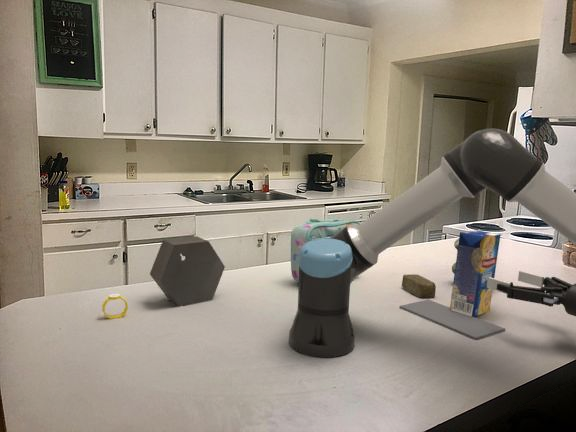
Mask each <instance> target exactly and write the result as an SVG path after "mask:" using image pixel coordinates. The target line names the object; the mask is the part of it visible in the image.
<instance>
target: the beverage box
mask: <svg viewBox="0 0 576 432" xmlns="http://www.w3.org/2000/svg"><path fill="white" fill-rule="evenodd" d="M501 235H502V234H501V233H500V234H499V233H494V232H488V231H483V230H477V229H476V230H469V231H467V230H466V231H460V232H459V236H458V237H459V238H458V239H459V244H458V251H457V250H456V251H457V252H456V259H455V263H456V266H455V274H454V273H453V284H452V289H451V290H452V291H451V298H450V305H449V307H450V310H451V311H455V312H458V313H461V314H465V315H468V316H471V317H477V316H480V315H482V314H484V313H487V312H489V311H491V305H492V297H493V291H494V290H493V289H489V288H487V280H488V277H491V278H496V277H495V275H496V268H497V261H498V254H499V247H500V241H501Z"/></svg>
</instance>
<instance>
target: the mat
mask: <svg viewBox="0 0 576 432" xmlns="http://www.w3.org/2000/svg"><path fill="white" fill-rule="evenodd" d="M399 309H401V310H404V311H406V312H408V313H411V314H413V315H415V316H418V317H420V318H422V319H425V320H427V321H429V322H432V323H433V324H437V325H439V326H441V327H444V328H446V329H448V330H451V331H453V332H456V333H458V334H460V335H463V336H464V337H468V338H470V339H472V340H474V341H477V340H480V339H485V338H487V337H490V336H494V335H496V334H500V333H503V332H505V331H506V328H505V327H502V326H499V325H497V324H494V323H491V322H490V321H487V320H484V319H481V318H478V317H477V316H475V317H471V316H468V315H465V314H461V313H458V312H455V311H451V310H450V306H447V305H444V304H442V303H438V302H436V301H434V300H431V299H430V298H427V299H425V300H424V299H423V300H420V301H416V302H411V303H406V304H402V305H399Z"/></svg>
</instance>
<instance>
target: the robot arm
mask: <svg viewBox="0 0 576 432" xmlns="http://www.w3.org/2000/svg"><path fill="white" fill-rule="evenodd" d="M488 189H489V190H490V191H492V192H493V193H495V194H497V195H498V196H500V197H501V198H502V199H504V200H505V201H507V202H508V203H513V202H514V203H515V202H517V203H518V204H520V205H521V206H522V207H523V208H525V209H526V210H528V211H529V212H530V213H532V214H533V215H534V216H536V217H537V218H538V219H540V220H541V221H543V223H545V224H547V226H549V227H551V228H552V229H554V230H555V232H558V233H559V234H560V235H562V236H563V237H564V238H565V239H567V240H568V241H570V242H571V243H572V244H574V245H575V246H576V192H575V191H574V190H572V189H571V188H570V187H568V186H567V185H565V184H564V183H563V182H561V181H560V180H559V179H557V178H556V177H554V176H553V175H551V174H550V173H548V172H547V171H546V167H545V163H544V161H542V160H541V159H539V158H538V157H536V156H535V155H534V154H532V153H531V151H529V150H528V149H527V148H525V146H523V145H522V143H521V142H519V141H518V139H517V138H515V136H513V135H512V134H511V133H509V132H508V131H506V130H503V129H500V128H492V127H491V128H485V129H481V130H478V131H475V132H474V133H472V134H470V135H469V136H468V137H467V138H466V139H465V140H464V141H462V142H461V143H459V144H458V145H457V146H455V147H453V149H451V150H450V151H448V152H447V153H445V154H444V155H443V156H442V157H441V162H440V166H438V168H436V169H435V170H434V171H432V172H431V173H430V174H428V175H427V176H425V177H423V178H422V179H421V180H419V181H418V182H417V183H415V184H414V185H412V186H411V187H409V188H408V189H407V190H406V191H404V192H402V193H401V194H400V195H399V196H397V197H396V198H395V199H393V200H392V201H390V202H389V203H388V204H386V205H385V206H384V207H382V208H380V210H379V209H378V211H377V212H375V213H374V214H372V215H371V216H370V217H368V218H367V219H366V220H364V221H362V222H361V223H359V224H360V225H358V226H356V225H348V226H347V227H345V228H344V229H342V230H341V231H340V232H338V233H337V234H335V235H334V236H332V237H330V238H329V239H317V240H312V241H309V242H307V243H305V244H304V245H303V246H302V248H301V251H300V256H299V282H298V289H297V290H298V295H297V310H296V314H295V315H294V319H293V322H292V325H291V327H290V329H289V333H288V344H289V345H290V347H291V348H292V349H293V350H295V351H297V352H298V353H300V354H301V353H302V354H304V355H308V356H312V357H317V358H318V357H319V358H331V357H333V358H334V357H340V356H344V355H346V354H349V353H351V352H352V351H353V350H354V349H355V341H356V339H355V338H356V336H355V332H354V328H353V325H352V324H353V323H352V320H351V317H350V313H349V312H350V310H349V309H350V293H351V284H352V283H353V281H354V280H355V279H356V278H358V276H360V275H361V274H363V273H365V272H366V271H367V270H369V269H370V268H372V267H373V266H374V265H376V264H377V263H378V260H379V259H378V258H379V256H380V254H381V253H382V252H384V251H385V250H387V249H389V248H391V246H393V245H395V244H396V243H397V242H399V241H401V240H402V239H403V238H404V237H406V236H408V235H409V234H410V233H412V232H413V231H416V229H418V228H420V227H421V226H422V225H424V224H425V223H427V222H428V221H429V220H431V219H432V218H435V216H437V215H438V214H440V213H441V212H443V211H444V210H446V209H447V208H449V207H450V206H451V205H454V203H456V202H458V201H459V200H461V199H462V198H473V199H475V197H477V196H479V195H480V194H481V193H483V192H484V191H486V190H488ZM517 281H518V282H521V283H524V284H528V285H531V286H535V287H530V286H524V285H523V286H521V285H514V283H513V281H511V282H508V281H504V280H501V279H498V278H496V277H494V278H491V277H488V280H487V288H489V289H493V291H496V292H499V293H502V294H506V298H507V299H511V300H512V299H513V300H517V301H523V302H529V303H535V304H539V305H544V306H548V307H554V305H556V306H557V305H558V306H559V305H562V306H563V307H564V311H565V312H566V314H567V315H570V316H573V317H576V283H574V284H572V283H570V282H567V281H565V280H562V279H560V278H558V277H556V276H551V277H549V276H543V275H539V274H534V273H530V272H527V271H523V270H519V271H518V276H517Z"/></svg>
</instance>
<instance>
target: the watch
mask: <svg viewBox="0 0 576 432" xmlns="http://www.w3.org/2000/svg"><path fill="white" fill-rule="evenodd" d="M119 299H121V300H122V301H124V306H125V307H124V309H123V311H122V312H121V313H120V314H117V315H115V314H114V315H110V314H108V313H106V311H105V310H106V306H107V304H108V302H109V301H111V300H112V301H115V300H119ZM128 309H129V305H128V301H127V300H126V299H125V298H124V297H123V296H122V295H121V294H120V293H111V294H109V295H108V297H107V298H106V299H105V300H104V301H103V303H102V312H103V315H105V317H106V318H107V319H110V320H111V319H117V318H118V319H119V318H123V317H124V316H125V315H126V314H127V312H128Z"/></svg>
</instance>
